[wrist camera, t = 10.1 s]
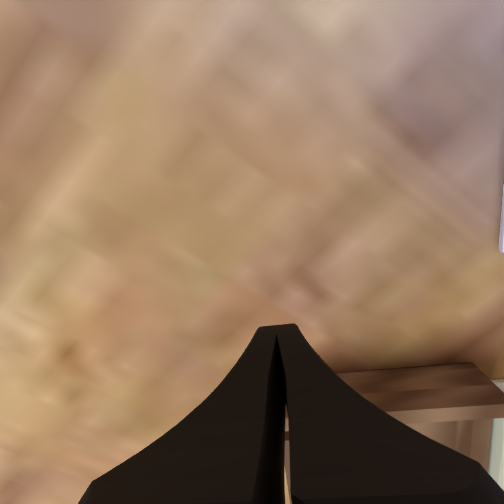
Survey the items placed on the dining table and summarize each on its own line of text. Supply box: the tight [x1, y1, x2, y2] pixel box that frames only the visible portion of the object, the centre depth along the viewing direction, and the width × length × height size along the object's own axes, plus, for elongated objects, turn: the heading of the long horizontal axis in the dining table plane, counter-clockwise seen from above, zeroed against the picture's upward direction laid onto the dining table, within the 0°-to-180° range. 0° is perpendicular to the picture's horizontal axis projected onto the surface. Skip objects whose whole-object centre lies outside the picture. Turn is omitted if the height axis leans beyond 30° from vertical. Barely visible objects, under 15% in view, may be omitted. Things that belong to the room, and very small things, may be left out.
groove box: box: [284, 363, 504, 504], centre depth 21 cm, size 14×12×4 cm
